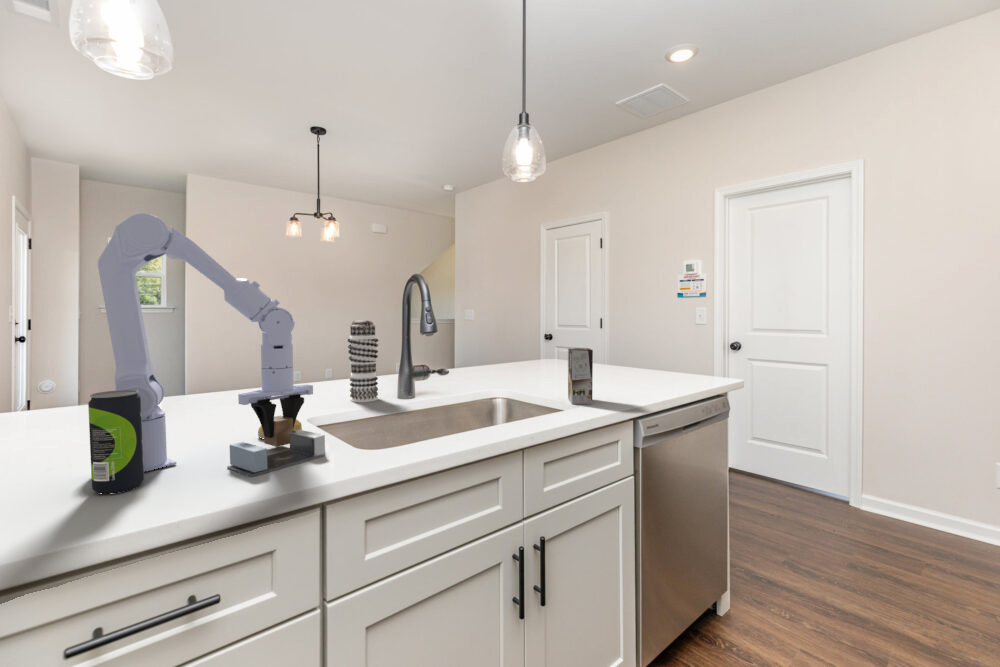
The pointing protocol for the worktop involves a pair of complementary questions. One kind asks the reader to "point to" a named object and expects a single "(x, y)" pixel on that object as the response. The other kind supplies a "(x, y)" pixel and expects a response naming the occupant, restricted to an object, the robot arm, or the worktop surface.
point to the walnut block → (280, 431)
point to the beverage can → (115, 441)
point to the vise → (292, 452)
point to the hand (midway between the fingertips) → (278, 434)
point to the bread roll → (296, 427)
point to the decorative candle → (363, 361)
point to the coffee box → (580, 375)
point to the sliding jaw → (248, 456)
